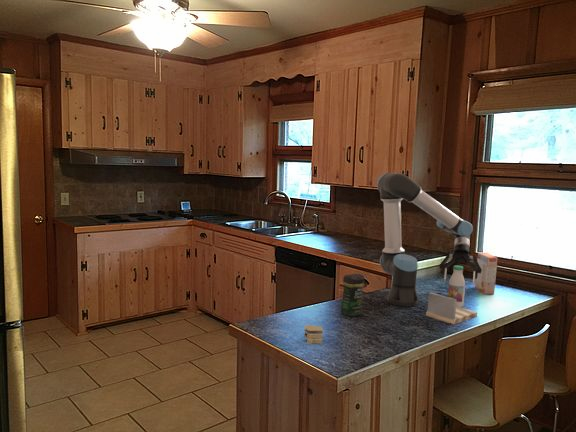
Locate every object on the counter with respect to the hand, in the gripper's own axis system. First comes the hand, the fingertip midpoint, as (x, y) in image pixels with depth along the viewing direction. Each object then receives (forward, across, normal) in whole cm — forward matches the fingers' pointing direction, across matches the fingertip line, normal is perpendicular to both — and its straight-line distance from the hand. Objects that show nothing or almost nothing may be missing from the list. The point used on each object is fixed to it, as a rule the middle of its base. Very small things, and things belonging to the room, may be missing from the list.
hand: (459, 281), depth 234 cm
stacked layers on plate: (+64, +51, +47) cm, 95 cm away
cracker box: (-17, -14, -34) cm, 41 cm away
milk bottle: (+9, +1, -8) cm, 12 cm away
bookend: (+27, +7, +13) cm, 31 cm away
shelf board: (+23, +2, +6) cm, 24 cm away
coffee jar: (+36, +45, +20) cm, 61 cm away
